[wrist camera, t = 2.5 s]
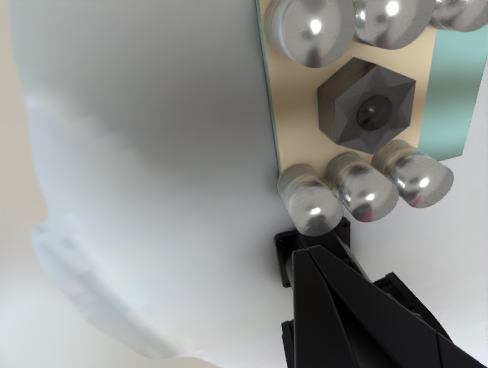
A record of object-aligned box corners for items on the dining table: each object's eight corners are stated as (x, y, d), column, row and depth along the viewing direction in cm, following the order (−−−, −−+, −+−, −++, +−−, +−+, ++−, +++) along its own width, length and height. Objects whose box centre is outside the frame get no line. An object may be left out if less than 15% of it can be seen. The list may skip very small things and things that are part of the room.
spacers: (414, 169, 22) (455, 199, 19) (279, 204, 21) (297, 241, 18) (449, -47, 15) (525, -61, 11) (249, -2, 14) (268, -3, 11)
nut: (383, 130, 20) (408, 146, 18) (319, 146, 19) (336, 164, 17) (390, 47, 17) (420, 54, 15) (316, 65, 17) (335, 75, 14)
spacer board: (453, 150, 23) (463, 156, 22) (282, 194, 22) (286, 202, 22) (504, -60, 16) (522, -63, 15) (254, -4, 15) (258, -4, 14)
